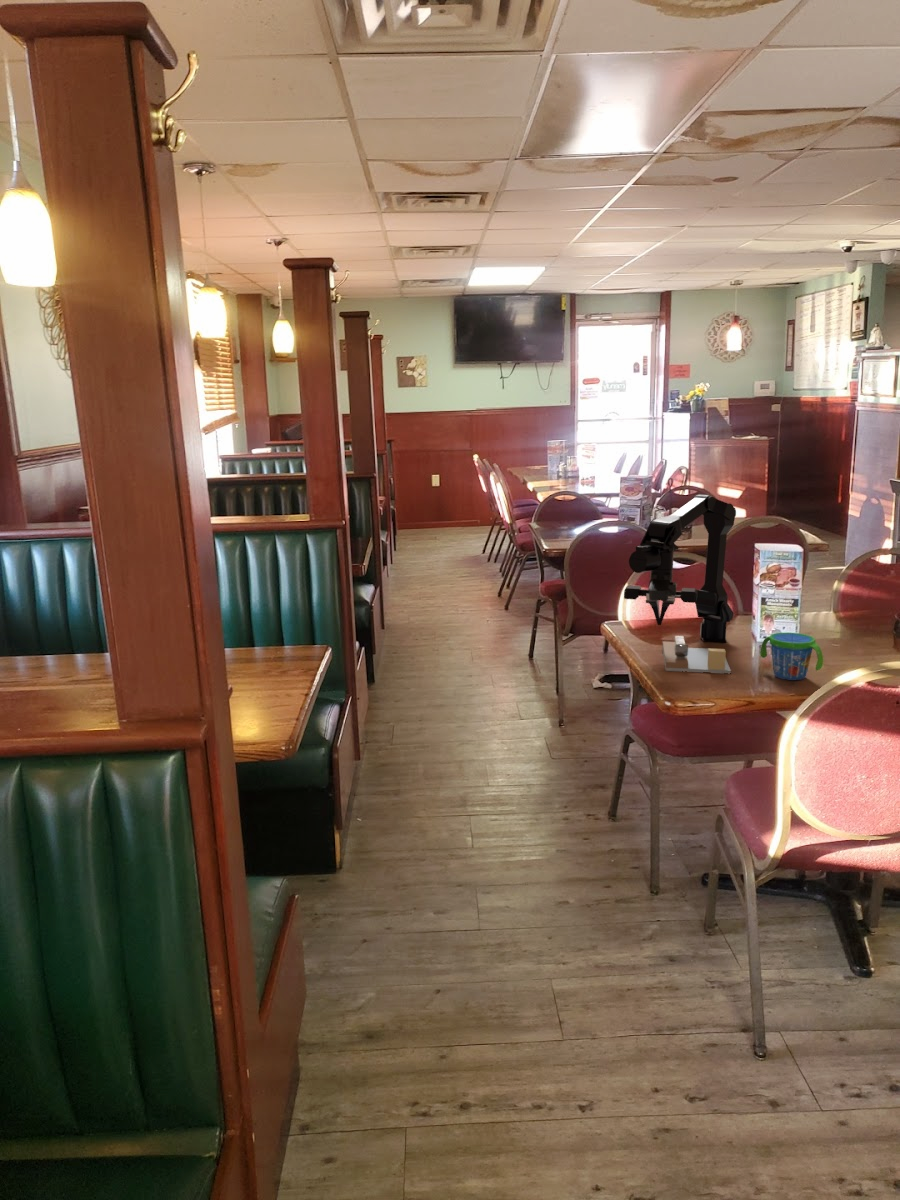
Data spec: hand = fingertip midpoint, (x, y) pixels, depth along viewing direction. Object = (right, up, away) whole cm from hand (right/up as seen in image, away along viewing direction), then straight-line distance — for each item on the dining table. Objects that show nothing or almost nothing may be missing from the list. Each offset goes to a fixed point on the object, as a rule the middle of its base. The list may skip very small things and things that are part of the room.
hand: (659, 624), depth 228 cm
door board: (+9, -10, -3) cm, 13 cm away
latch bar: (+5, -6, -4) cm, 9 cm away
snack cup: (+28, -13, -17) cm, 35 cm away
